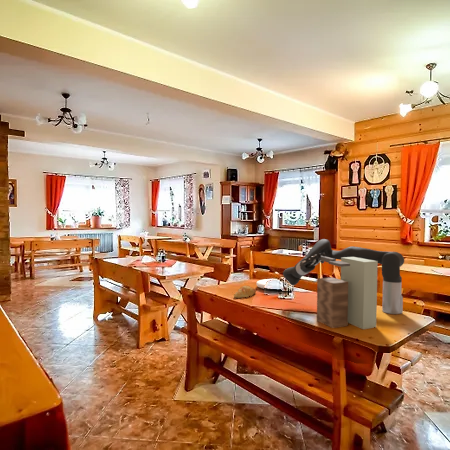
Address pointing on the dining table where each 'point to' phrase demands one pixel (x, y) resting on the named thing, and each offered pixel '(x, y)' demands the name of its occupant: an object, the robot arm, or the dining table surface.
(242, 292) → the tan rounded lump
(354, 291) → the tall pale grey box
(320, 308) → the wood grain box
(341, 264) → the spatula
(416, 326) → the dining table surface
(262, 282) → the plate
